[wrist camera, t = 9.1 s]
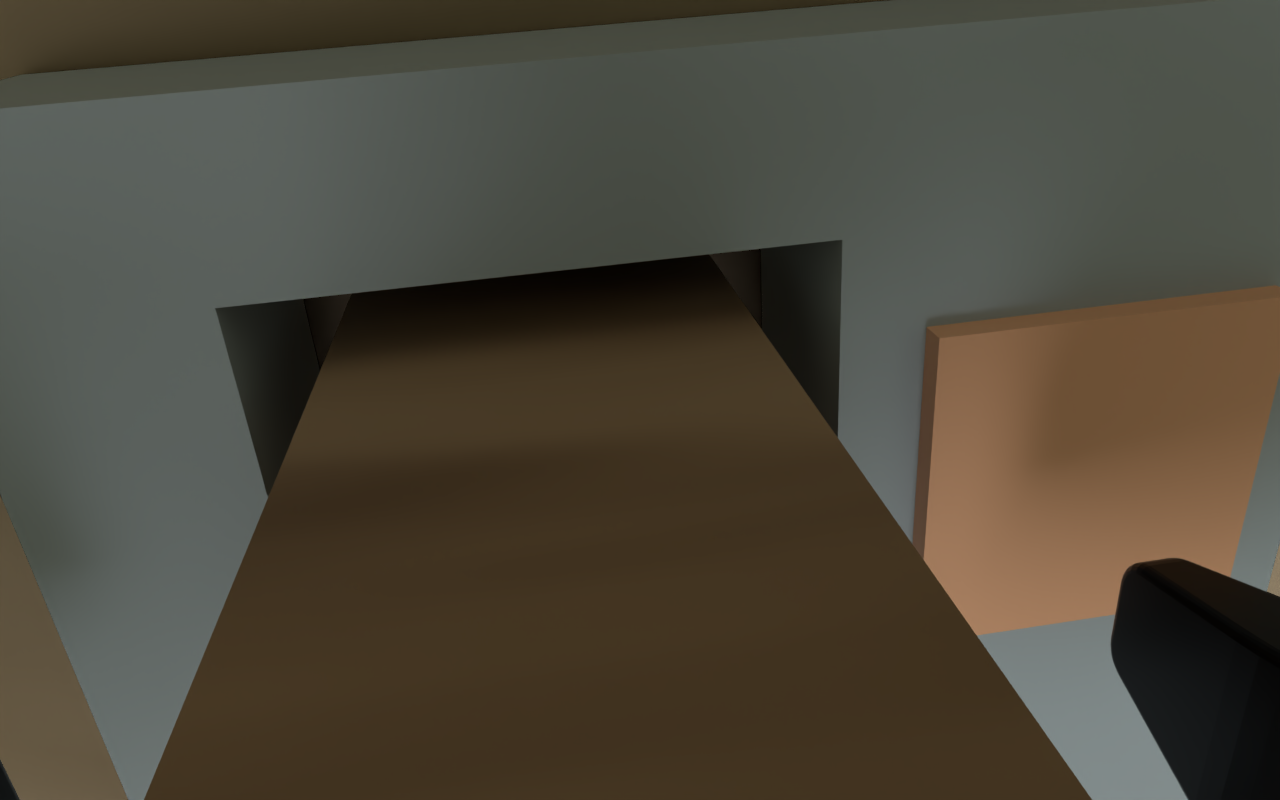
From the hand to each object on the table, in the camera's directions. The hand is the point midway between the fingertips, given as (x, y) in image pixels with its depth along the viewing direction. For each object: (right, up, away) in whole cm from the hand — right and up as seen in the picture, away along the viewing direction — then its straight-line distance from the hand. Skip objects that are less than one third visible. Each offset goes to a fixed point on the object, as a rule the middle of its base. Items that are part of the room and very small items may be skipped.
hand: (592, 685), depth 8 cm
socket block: (+1, -2, +7) cm, 7 cm away
